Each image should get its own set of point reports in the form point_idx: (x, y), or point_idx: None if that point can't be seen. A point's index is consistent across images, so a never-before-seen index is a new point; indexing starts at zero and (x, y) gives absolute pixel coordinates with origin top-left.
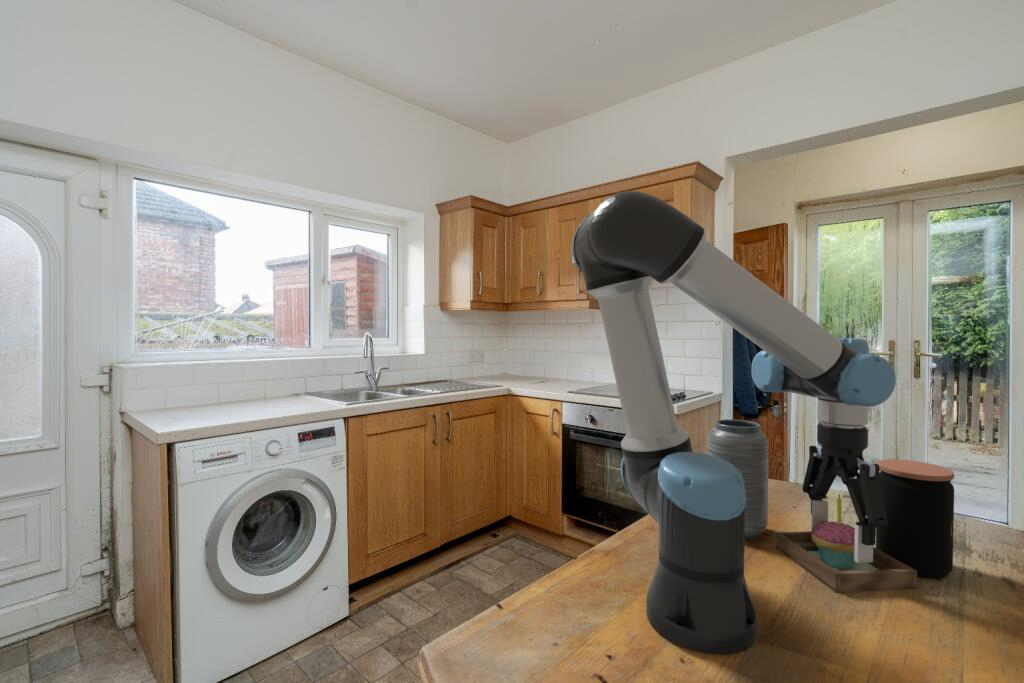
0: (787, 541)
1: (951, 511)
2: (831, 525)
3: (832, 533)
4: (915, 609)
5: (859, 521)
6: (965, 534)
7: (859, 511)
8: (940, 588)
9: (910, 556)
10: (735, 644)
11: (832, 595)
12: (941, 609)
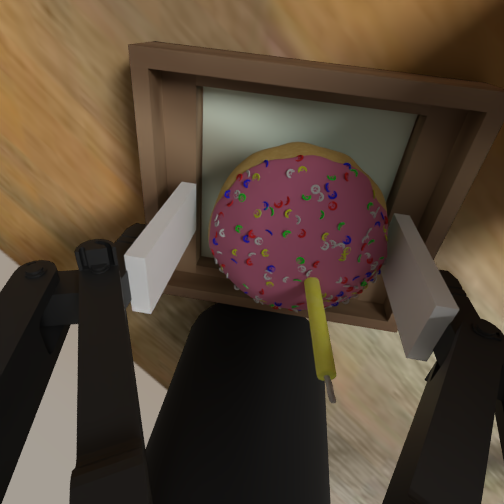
0: (423, 81)
1: None
2: (303, 241)
3: (263, 201)
4: (85, 187)
5: (116, 268)
6: (334, 481)
7: (91, 302)
8: (170, 304)
9: (204, 331)
10: None
11: (136, 11)
12: (91, 237)
